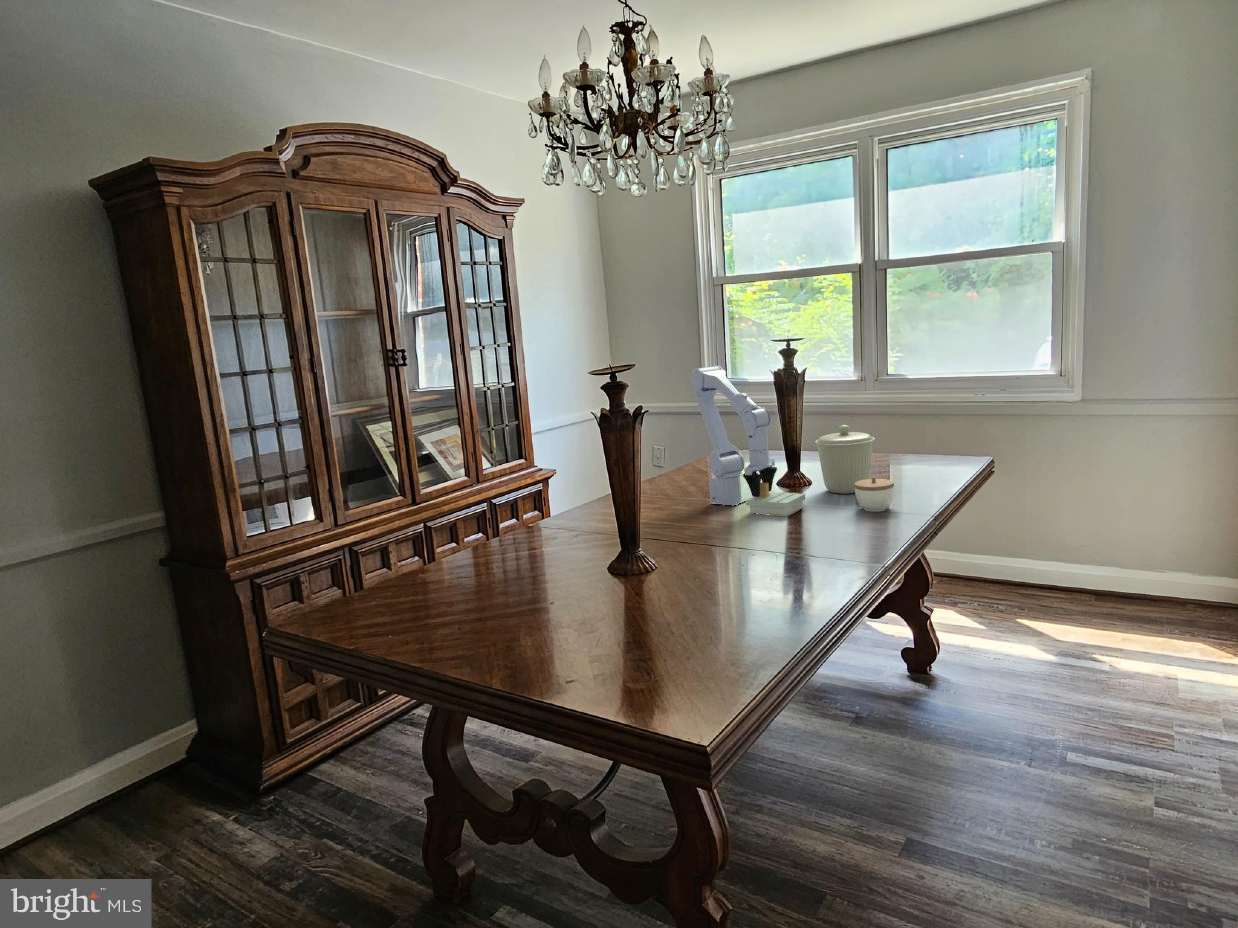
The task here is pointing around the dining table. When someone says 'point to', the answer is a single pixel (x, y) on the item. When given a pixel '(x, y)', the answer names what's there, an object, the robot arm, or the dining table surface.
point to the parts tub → (776, 510)
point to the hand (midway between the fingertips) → (761, 493)
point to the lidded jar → (874, 494)
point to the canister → (845, 459)
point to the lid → (774, 498)
